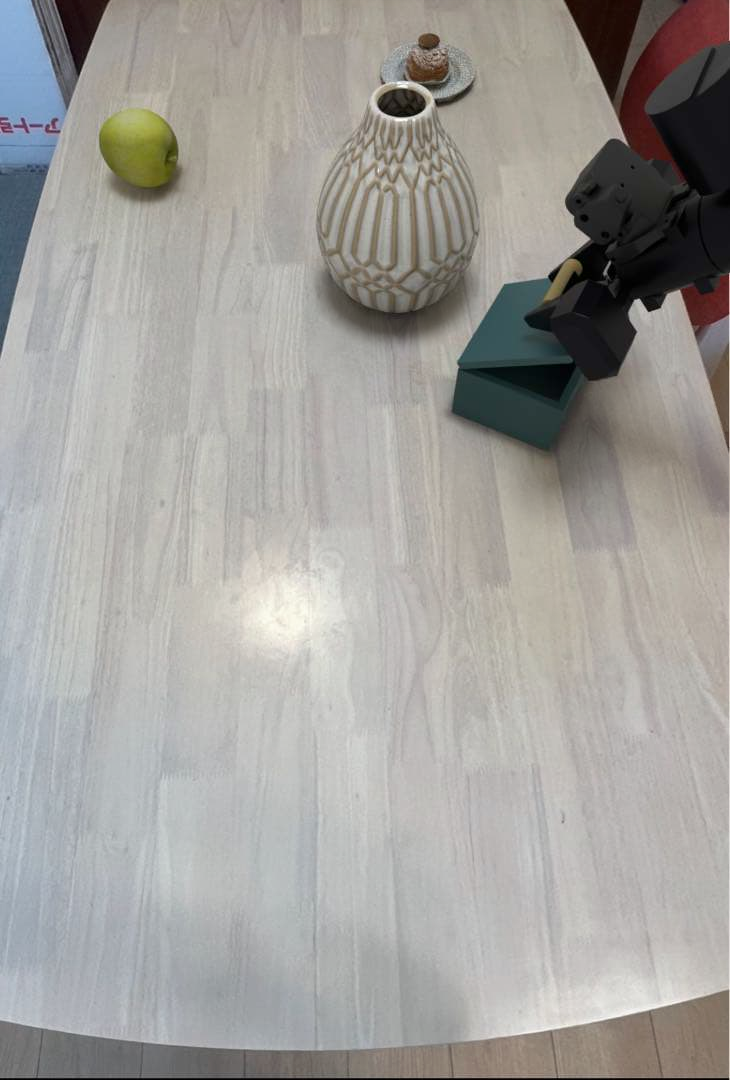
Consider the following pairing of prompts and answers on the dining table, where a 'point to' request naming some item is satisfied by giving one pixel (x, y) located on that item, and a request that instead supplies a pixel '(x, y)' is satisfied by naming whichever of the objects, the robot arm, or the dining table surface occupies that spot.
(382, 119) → the vase
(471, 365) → the box lid
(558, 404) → the teal open box
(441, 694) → the dining table surface
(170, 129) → the apple
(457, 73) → the pastry
